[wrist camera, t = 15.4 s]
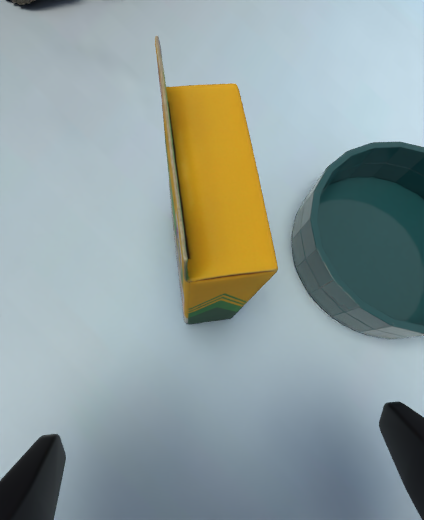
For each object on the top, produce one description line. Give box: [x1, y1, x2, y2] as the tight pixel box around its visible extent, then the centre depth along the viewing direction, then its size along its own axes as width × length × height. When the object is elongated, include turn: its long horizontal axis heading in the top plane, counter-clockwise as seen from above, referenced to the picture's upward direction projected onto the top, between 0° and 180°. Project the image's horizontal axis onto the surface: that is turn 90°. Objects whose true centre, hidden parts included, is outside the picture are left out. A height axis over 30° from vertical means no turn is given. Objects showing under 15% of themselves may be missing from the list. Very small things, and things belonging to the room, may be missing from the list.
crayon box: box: [155, 36, 278, 324], centre depth 14 cm, size 7×3×12 cm, turn 8°
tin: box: [292, 142, 424, 339], centre depth 19 cm, size 11×11×4 cm
